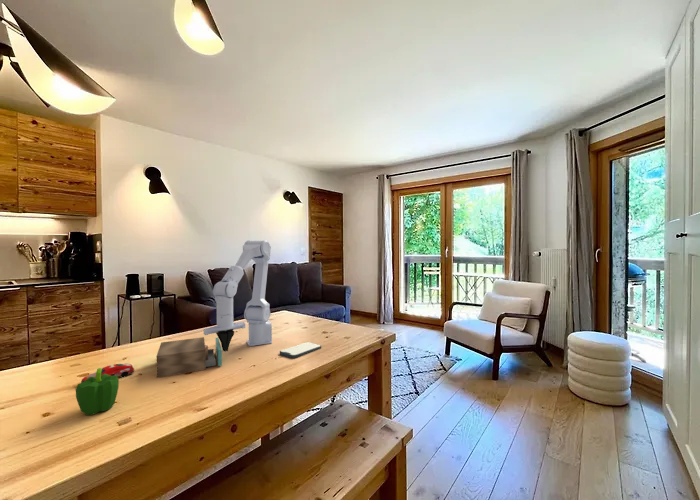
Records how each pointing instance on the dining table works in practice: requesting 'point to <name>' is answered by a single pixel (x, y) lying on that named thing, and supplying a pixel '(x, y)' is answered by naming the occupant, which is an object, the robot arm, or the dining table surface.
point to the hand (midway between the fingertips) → (225, 350)
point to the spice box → (181, 357)
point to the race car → (114, 371)
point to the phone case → (300, 350)
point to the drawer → (211, 358)
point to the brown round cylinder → (206, 352)
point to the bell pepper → (97, 393)
